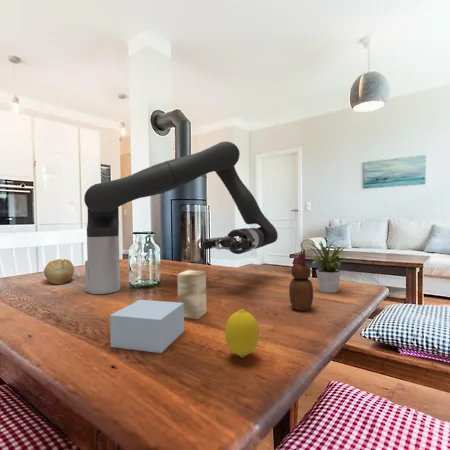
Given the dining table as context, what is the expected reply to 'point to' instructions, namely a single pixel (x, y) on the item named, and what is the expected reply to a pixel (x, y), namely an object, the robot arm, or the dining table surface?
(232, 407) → the dining table surface
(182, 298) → the birch block
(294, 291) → the wooden figurine
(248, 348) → the lemon
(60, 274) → the bread roll
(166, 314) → the slate block
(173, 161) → the robot arm
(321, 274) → the house plant
